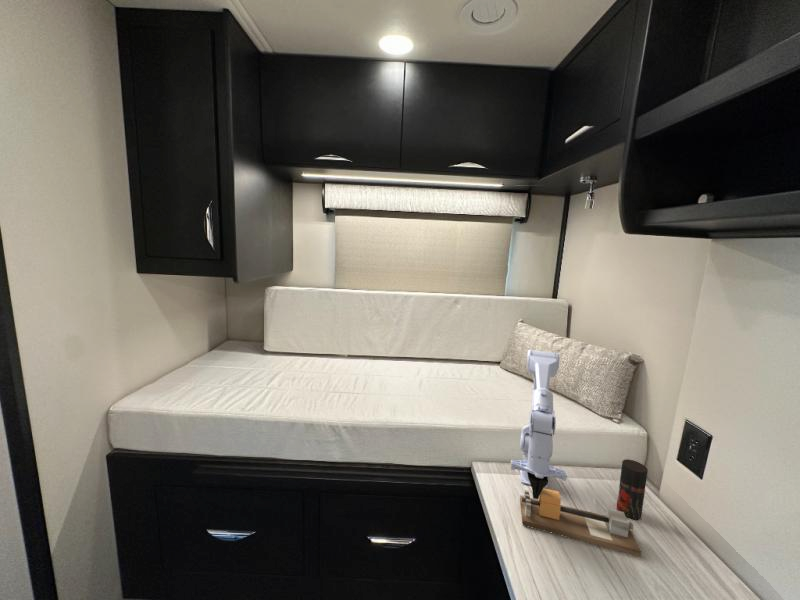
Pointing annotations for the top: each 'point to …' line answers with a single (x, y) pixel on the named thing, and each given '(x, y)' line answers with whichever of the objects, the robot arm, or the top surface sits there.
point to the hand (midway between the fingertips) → (535, 496)
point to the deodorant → (632, 489)
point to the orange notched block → (549, 503)
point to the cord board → (583, 525)
